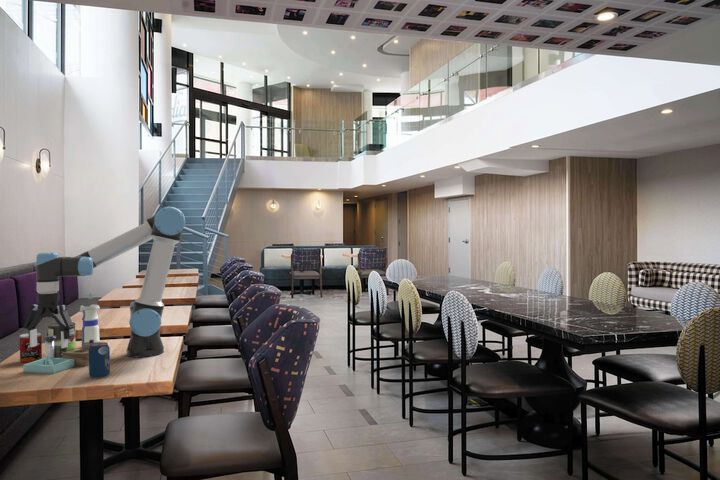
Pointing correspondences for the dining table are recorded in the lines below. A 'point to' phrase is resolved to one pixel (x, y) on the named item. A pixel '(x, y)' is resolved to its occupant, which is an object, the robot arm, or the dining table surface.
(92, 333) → the water bottle
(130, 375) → the dining table surface
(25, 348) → the canned food
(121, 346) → the dining table surface
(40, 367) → the tray
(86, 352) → the block
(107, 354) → the soda can
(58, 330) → the coffee can
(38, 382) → the dining table surface
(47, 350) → the pin
